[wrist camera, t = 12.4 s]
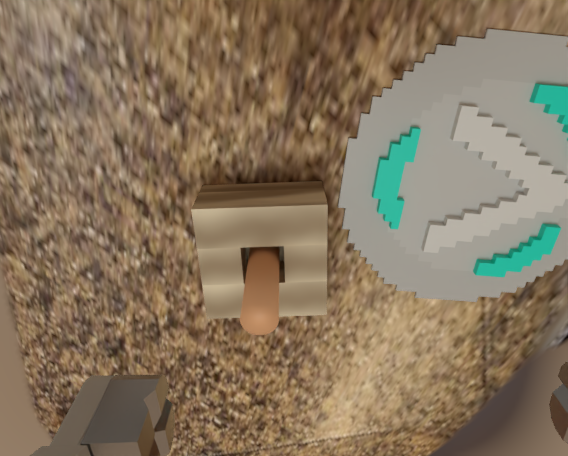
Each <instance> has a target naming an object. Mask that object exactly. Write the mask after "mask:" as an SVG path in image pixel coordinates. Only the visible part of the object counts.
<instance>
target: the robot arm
mask: <svg viewBox="0 0 568 456" xmlns="http://www.w3.org/2000/svg"><path fill="white" fill-rule="evenodd" d="M558 377H559V378H560V380H561V381H562V383H563V384H562V385H561V386H559V388H557V389H556V390H555V391H553V393H552V396H551V400H550V404H549V405H550V412H551V418H552V421H553V423H554V426H555V428H556V430H557V432H558V433H559V435H560V436H561V438H562V439H563V441H565V442H566V443H568V362H566V363H565V364H564V365H562V366H561V369H560V372H559V374H558ZM168 390H169V386H168V382H167V378H166V376H164V375H115V376H90V377H89V378H88V379H87V380H86V381H85V382H84V384H83V385H82V387H81V389H80V391H79V393H78V395H77V396H76V398H75V400H74V402H73V404H72V406H71V407H70V409H69V411H68V413H67V415H66V417H65V418H64V420H63V422H62V424H61V426H60V428H59V429H58V431H57V433H56V435H55V437H54V439H53V440H52V442H51V444H50V446H42V447H41V448H39V449H38V450H36V451H35V452H34V453H33V454H31V455H30V456H167V454H168V453H169V452H170V450H171V446H172V441H173V435H174V425H175V420H174V410H173V404H172V403H171V402H170V401H168V400H167V399H166V397H167V393H168Z"/></svg>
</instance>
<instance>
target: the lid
mask: <svg viewBox="0 0 568 456" xmlns="http://www.w3.org/2000/svg"><path fill="white" fill-rule="evenodd" d="M567 42H568V37H566V36H556V35H546V34H536V33H526V32H515V31H505V30H495V29H486V32H485V36H484V39H481V38H470V37H460V36H457V37H456V41H455V45H454V46H448V45H437V44H436V48H435V53H434V54H427V53H425V57H424V61H423V63H418V62H414V66H413V71H412V72H411V71H403V76H402V80H394V79H393V82H392V87H391V88H382V94H381V97H378V96H372V101H371V107H370V112H369V114H368V113H361V115H360V121H359V127H358V133H357V138H349V137H348V143H347V150H346V156H345V163H344V169H343V175H342V182H341V188H340V195H339V201H338V207H340V208H345V212H344V218H343V224H342V229H349V234H348V239H347V243H354V248H353V249H354V250H360V255H359V256H360V257H366V262H365V263H366V264H372V268H371V270H374V271H378V274H377V277H384V279H383V283H384V284H396V288H395V289H396V290H399V291H413V292H415V298H429V299H443V300H457V301H471V302H477V299H478V297H479V296H484V297H498V298H499V297H500V294H501V292H511V293H515V291H516V289H517V287H525V284H526V282H534V279H535V277H536V276H543V275H544V273H545V270H546V271H553V268H554V266H555V265H562V264H563V262H564V260H565V259H568V47H566V45H567Z"/></svg>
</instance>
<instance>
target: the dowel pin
mask: <svg viewBox="0 0 568 456" xmlns="http://www.w3.org/2000/svg"><path fill="white" fill-rule="evenodd" d="M279 260H280V246H273V247H250V251H249V258H248V265H247V272H246V279H245V287H244V294H243V301H242V308H241V315H240V323H241V325H242V327H243V328H244V329H245V330H246V331H247V332H249V333H251V334H255V335H265V334H268V333H270V332H272V331H273V330H274V329H275V328H276V327H277V325H278V322H279Z"/></svg>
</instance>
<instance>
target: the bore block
mask: <svg viewBox="0 0 568 456" xmlns="http://www.w3.org/2000/svg"><path fill="white" fill-rule="evenodd" d="M191 211H192V218H193V224H194V231H195V238H196V245H197V252H198V259H199V266H200V273H201V280H202V287H203V294H204V300H205V307H206V314H207V319H211V318H240V315H241V308H242V301H243V294H244V287H245V279H246V272H247V265H248V258H249V251H250V247H273V246H280V260H279V316H305V315H327V220H328V204H327V200H326V196H325V191H324V187H323V183H322V181H307V182H279V183H251V184H223V185H203V186H202V188H201V190H200V192H199V194H198V196H197V198H196V200H195V203H194V205H193V207H192V209H191Z"/></svg>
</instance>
